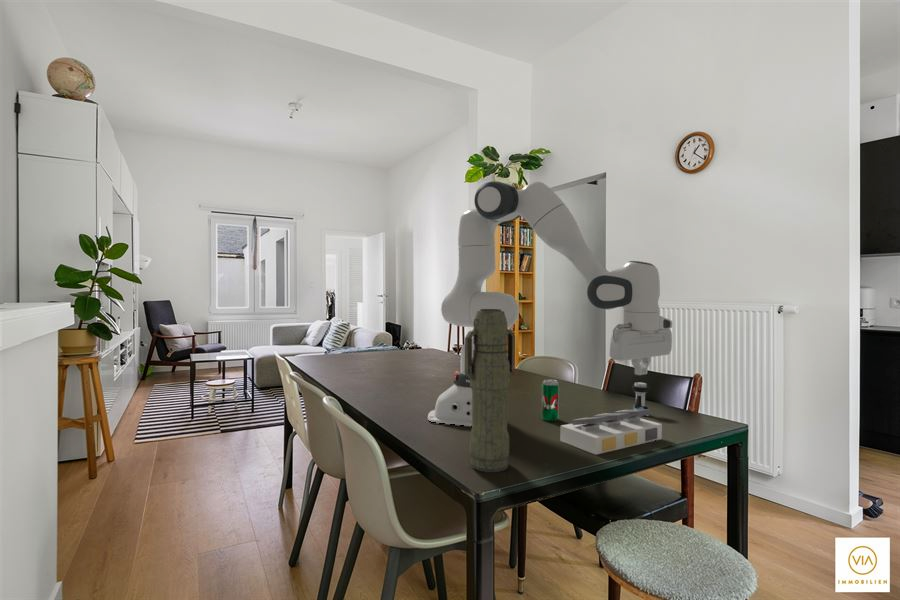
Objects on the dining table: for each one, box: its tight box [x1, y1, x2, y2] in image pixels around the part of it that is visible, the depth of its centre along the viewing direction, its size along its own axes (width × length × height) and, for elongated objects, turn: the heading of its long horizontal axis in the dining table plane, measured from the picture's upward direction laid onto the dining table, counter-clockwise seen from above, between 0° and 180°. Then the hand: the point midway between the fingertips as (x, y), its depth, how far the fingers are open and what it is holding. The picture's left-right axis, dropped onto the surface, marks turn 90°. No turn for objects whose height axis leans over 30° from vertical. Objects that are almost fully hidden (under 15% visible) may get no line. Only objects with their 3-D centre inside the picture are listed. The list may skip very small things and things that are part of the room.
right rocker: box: [613, 408, 652, 417], centre depth 127 cm, size 5×8×1 cm, turn 30°
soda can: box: [541, 378, 560, 422], centre depth 142 cm, size 5×5×12 cm
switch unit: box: [559, 416, 663, 455], centre depth 123 cm, size 25×12×5 cm, turn 120°
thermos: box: [464, 309, 516, 473], centre depth 104 cm, size 9×12×35 cm
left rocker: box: [571, 416, 609, 425], centre depth 119 cm, size 5×8×1 cm, turn 30°
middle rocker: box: [592, 412, 631, 420], centre depth 123 cm, size 5×8×1 cm, turn 30°
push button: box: [631, 381, 650, 417], centre depth 149 cm, size 7×5×10 cm
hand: (640, 374), depth 123 cm, fingers closed
